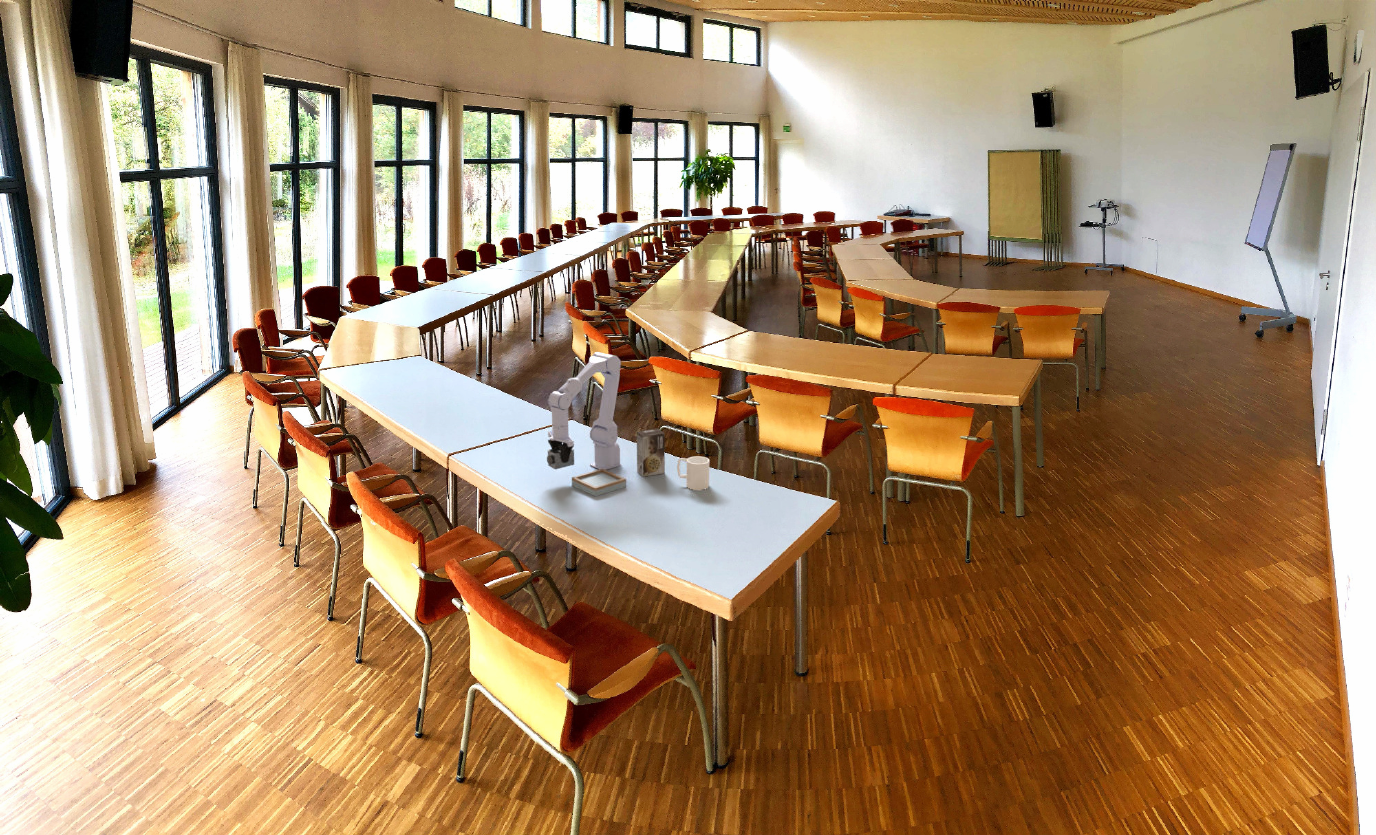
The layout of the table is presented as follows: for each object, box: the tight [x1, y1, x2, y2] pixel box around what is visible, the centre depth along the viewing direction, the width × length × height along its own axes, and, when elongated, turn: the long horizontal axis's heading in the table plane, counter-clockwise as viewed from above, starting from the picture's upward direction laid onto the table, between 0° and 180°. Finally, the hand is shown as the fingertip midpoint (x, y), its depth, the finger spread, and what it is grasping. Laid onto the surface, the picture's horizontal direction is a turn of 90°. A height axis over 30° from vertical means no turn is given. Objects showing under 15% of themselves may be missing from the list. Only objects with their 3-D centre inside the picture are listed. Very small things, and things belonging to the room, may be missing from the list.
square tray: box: [571, 469, 627, 497], centre depth 319 cm, size 14×14×3 cm
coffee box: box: [636, 428, 666, 478], centre depth 330 cm, size 9×6×16 cm
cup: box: [676, 455, 710, 491], centre depth 319 cm, size 8×12×10 cm
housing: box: [546, 448, 575, 470], centre depth 320 cm, size 9×5×6 cm, turn 129°
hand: (561, 460), depth 320 cm, fingers closed on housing, 5 cm apart
